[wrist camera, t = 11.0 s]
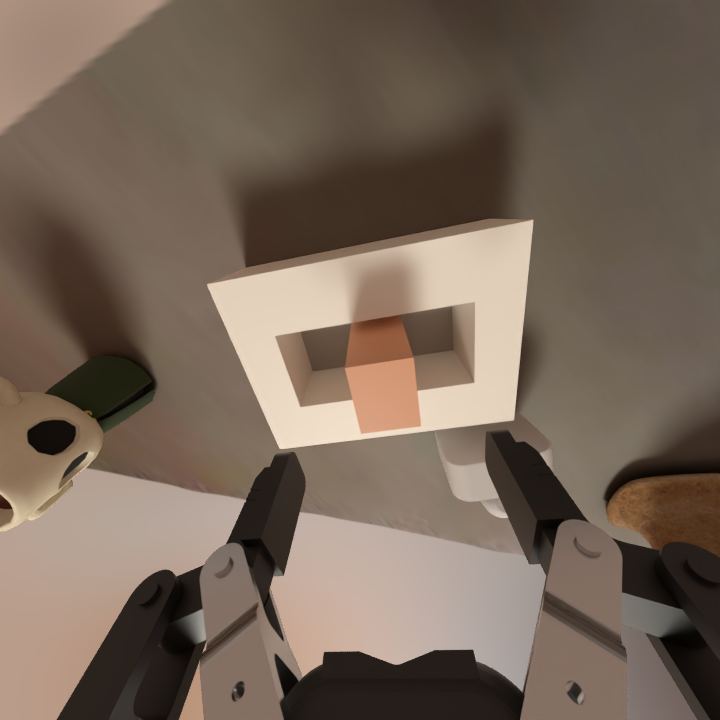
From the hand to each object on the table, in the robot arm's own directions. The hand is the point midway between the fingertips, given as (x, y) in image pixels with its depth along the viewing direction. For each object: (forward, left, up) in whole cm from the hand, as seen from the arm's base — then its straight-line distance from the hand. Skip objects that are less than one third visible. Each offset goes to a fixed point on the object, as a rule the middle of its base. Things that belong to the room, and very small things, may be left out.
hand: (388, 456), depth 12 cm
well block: (0, 0, -14) cm, 14 cm away
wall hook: (-8, +15, -15) cm, 23 cm away
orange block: (0, 0, -14) cm, 14 cm away
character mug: (+26, +1, -15) cm, 29 cm away
